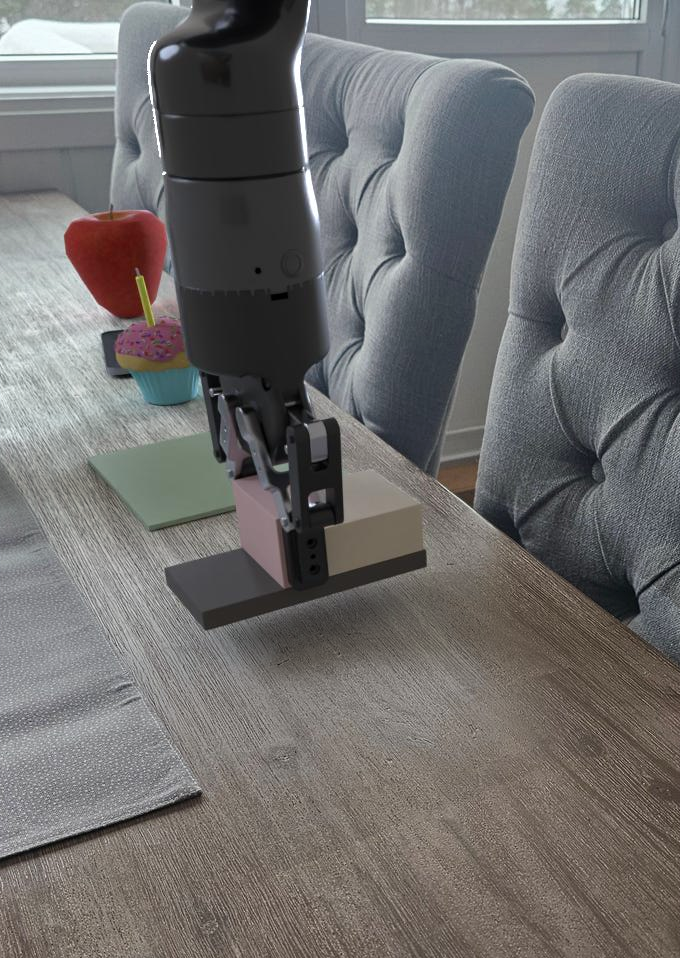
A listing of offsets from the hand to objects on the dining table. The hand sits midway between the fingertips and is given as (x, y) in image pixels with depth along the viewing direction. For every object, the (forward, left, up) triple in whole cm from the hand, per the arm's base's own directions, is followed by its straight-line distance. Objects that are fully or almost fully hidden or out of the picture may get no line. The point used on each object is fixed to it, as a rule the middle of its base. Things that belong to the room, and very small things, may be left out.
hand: (284, 561), depth 66 cm
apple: (+14, +78, -4) cm, 79 cm away
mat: (+5, +26, -4) cm, 27 cm away
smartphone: (+10, +61, -4) cm, 62 cm away
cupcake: (+8, +46, -4) cm, 47 cm away
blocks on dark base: (+1, 0, -1) cm, 2 cm away
